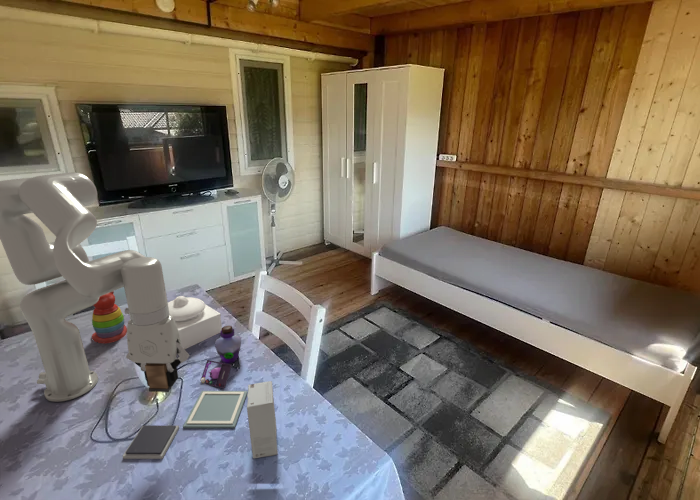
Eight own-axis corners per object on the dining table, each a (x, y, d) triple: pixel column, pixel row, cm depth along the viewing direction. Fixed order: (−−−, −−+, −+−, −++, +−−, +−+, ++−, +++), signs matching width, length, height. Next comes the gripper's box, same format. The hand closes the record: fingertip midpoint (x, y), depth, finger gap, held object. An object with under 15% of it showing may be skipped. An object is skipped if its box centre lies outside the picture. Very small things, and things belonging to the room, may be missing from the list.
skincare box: (277, 455, 86) (274, 404, 81) (251, 460, 85) (246, 408, 80) (276, 427, 94) (273, 379, 89) (252, 431, 93) (247, 382, 88)
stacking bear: (124, 325, 139) (115, 282, 133) (133, 336, 132) (123, 291, 126) (90, 337, 131) (79, 291, 125) (98, 348, 125) (86, 301, 119)
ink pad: (123, 458, 85) (122, 454, 84) (143, 427, 93) (142, 423, 93) (162, 458, 85) (161, 454, 84) (179, 428, 93) (178, 424, 93)
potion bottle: (221, 371, 115) (217, 338, 111) (212, 357, 121) (208, 325, 117) (248, 361, 119) (245, 329, 115) (238, 348, 126) (235, 317, 122)
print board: (183, 428, 93) (182, 425, 93) (202, 392, 106) (201, 389, 105) (234, 428, 93) (234, 425, 93) (247, 392, 106) (247, 390, 105)
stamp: (149, 391, 85) (143, 366, 83) (158, 378, 89) (154, 354, 87) (168, 392, 85) (163, 366, 83) (177, 379, 89) (173, 354, 87)
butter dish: (198, 318, 145) (193, 281, 140) (223, 334, 134) (219, 295, 129) (152, 336, 133) (145, 296, 128) (175, 356, 122) (168, 313, 116)
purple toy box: (222, 388, 106) (198, 382, 109) (232, 389, 110) (209, 384, 114) (229, 364, 108) (205, 359, 112) (239, 366, 113) (216, 362, 116)
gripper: (100, 321, 77) (117, 392, 83) (180, 323, 77) (191, 394, 83) (122, 304, 84) (136, 371, 90) (195, 306, 84) (204, 373, 90)
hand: (162, 381), depth 87 cm, fingers closed on stamp, 4 cm apart
